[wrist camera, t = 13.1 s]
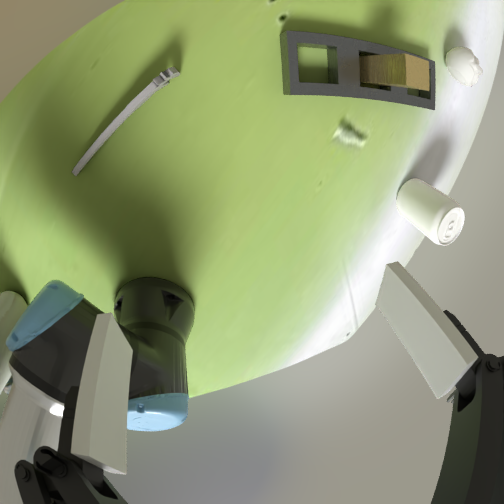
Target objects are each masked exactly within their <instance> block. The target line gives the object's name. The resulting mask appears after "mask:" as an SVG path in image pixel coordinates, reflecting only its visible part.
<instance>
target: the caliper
mask: <svg viewBox="0 0 504 504" xmlns="http://www.w3.org/2000/svg"><path fill="white" fill-rule="evenodd" d="M179 75H180V73H179V72H178V71H177V69H176V68H175V67H171V68H168V69H167V70H165V71H164V72H161V73H160V75H159V76H157V77H156V78H154V79H153V82H151V83H150V84H149V85H148V86H147V87H146V88H145V89H144V90H143V91H142V92H140V93H139V94H138V95H137V96H136V97H135V98H134V99H133V100H132V101H131V102H130V103H129V104H128V105H127V106H126V108H125V109H124V110H123V111H122V112H121V113H120V114H119V115H118V116H117V117H116V118H115V119H114V120H113V122H112V123H111V124H110V125H109V126H108V127H107V128H106V129H105V130H104V132H103V133H102V134H101V135H100V136H99V137H98V138H97V140H96V141H95V142H94V143H93V144H92V146H91V147H90V148H89V149H88V151H87V152H86V153H85V154H84V156H83V157H82V158H81V159H80V161H79V162H78V163H77V165H76V166H75V167H74V169H73V171H72V173H73V174H74V175H75V176H77V175H78V173H79V172H80V171H81V170H82V169H83V167H84V166H85V165H86V164H87V163H88V161H89V160H90V159H91V158H92V157H93V155H94V154H95V153H96V152H97V151H98V149H99V148H100V147H101V146H102V145H103V144H104V142H105V141H106V140H107V139H108V138H109V137H110V136H111V135H112V134H113V133H114V131H115V130H116V129H117V128H118V127H119V126H120V125H121V124H122V123H123V122H124V121H125V120H126V119H127V118H128V117H129V116H130V115H131V114H132V113H133V112H134V111H135V110H136V109H138V108H139V107H140V106H141V105H142V104H143V103H144V102H145V101H147V100H148V99H149V98H150V97H151V96H152V95H153V94H154V93H155V92H156V91H158V90H159V89H161V88H163V87H164V86H166V85H167V84H169V81H168V80H169V79H171V78H174V77H177V76H179Z"/></svg>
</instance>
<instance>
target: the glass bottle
mask: <svg viewBox="0 0 504 504" xmlns="http://www.w3.org/2000/svg"><path fill="white" fill-rule="evenodd" d="M27 307H28V306H27V304H26V302H25V300H24V299H23V298H22V296H20V295H19V294H17V293H15V292H13V291H4V292H2V293H1V294H0V393H1V391H2V390H3V388H4V387H5V385H6V383H7V382H8V380H9V378H10V377H11V375H12V374H11V371H10V368H9V365H8V362H9V360H10V357H11V355H12V353H13V351H10V350H9V349H8V347H7V346H6V339H7V337H8V336H9V334H10V333H11V331H12V329H13V328H14V326H15V325H16V323H17V321H18V320H19V318H20V317H21V316H22V314H23V313H24V311H25V310H26V309H27Z"/></svg>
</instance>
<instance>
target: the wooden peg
mask: <svg viewBox="0 0 504 504" xmlns="http://www.w3.org/2000/svg"><path fill="white" fill-rule="evenodd" d="M359 67H360V83H367V84H374V85H385V86H396V87H404V88H412V89H419V90H426V91H429V61H427V60H424V59H421V58H418V57H415V56H412V55H409V54H384V55H371V56H361V57H359Z"/></svg>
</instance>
